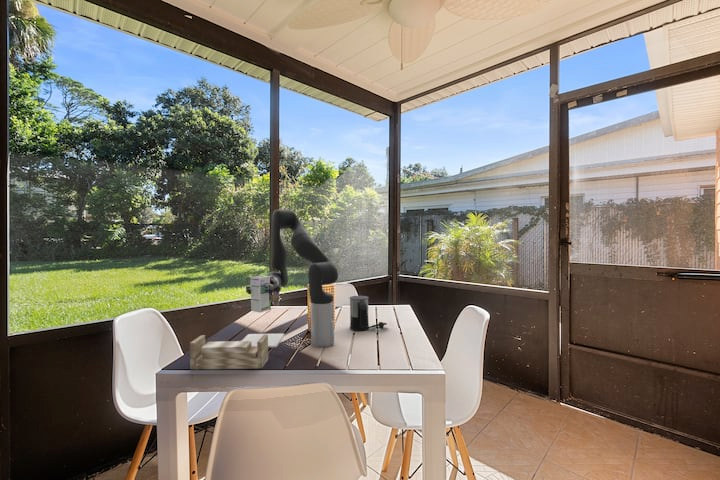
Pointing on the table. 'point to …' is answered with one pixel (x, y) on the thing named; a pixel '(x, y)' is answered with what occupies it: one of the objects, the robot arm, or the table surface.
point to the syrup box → (260, 293)
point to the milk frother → (360, 314)
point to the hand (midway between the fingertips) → (259, 291)
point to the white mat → (272, 339)
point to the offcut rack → (228, 354)
